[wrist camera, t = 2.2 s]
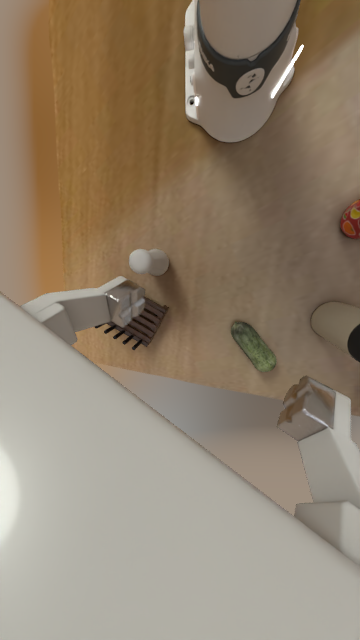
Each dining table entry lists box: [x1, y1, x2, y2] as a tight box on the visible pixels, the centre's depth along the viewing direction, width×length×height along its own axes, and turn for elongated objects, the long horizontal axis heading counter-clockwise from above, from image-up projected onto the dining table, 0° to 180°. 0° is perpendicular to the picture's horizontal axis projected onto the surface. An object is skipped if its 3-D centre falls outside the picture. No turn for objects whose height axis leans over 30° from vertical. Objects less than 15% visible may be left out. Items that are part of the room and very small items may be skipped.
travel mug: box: [311, 302, 360, 362], centre depth 35 cm, size 8×8×18 cm
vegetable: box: [231, 322, 276, 372], centre depth 45 cm, size 14×5×5 cm, turn 40°
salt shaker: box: [129, 249, 169, 276], centre depth 40 cm, size 6×6×13 cm
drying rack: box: [95, 296, 169, 350], centre depth 48 cm, size 11×14×7 cm
